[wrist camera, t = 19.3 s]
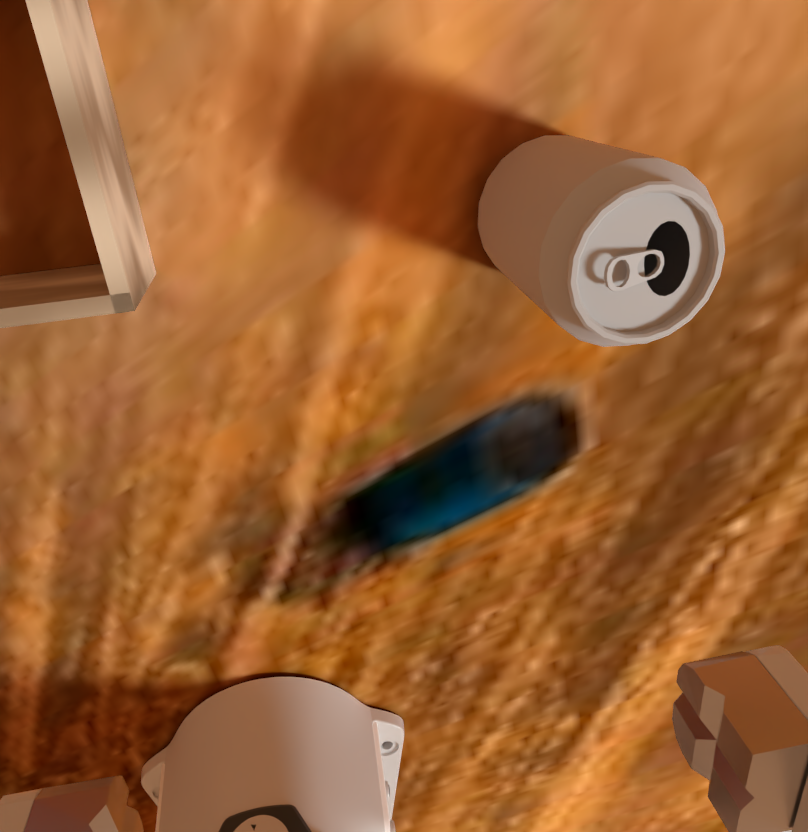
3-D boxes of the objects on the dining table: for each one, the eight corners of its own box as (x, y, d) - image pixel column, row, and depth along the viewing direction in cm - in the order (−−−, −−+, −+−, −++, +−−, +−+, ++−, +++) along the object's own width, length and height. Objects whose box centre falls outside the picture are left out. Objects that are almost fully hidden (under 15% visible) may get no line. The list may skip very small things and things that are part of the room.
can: (611, 265, 39) (738, 341, 28) (480, 292, 38) (558, 379, 28) (610, 120, 35) (753, 145, 25) (465, 147, 35) (548, 184, 24)
